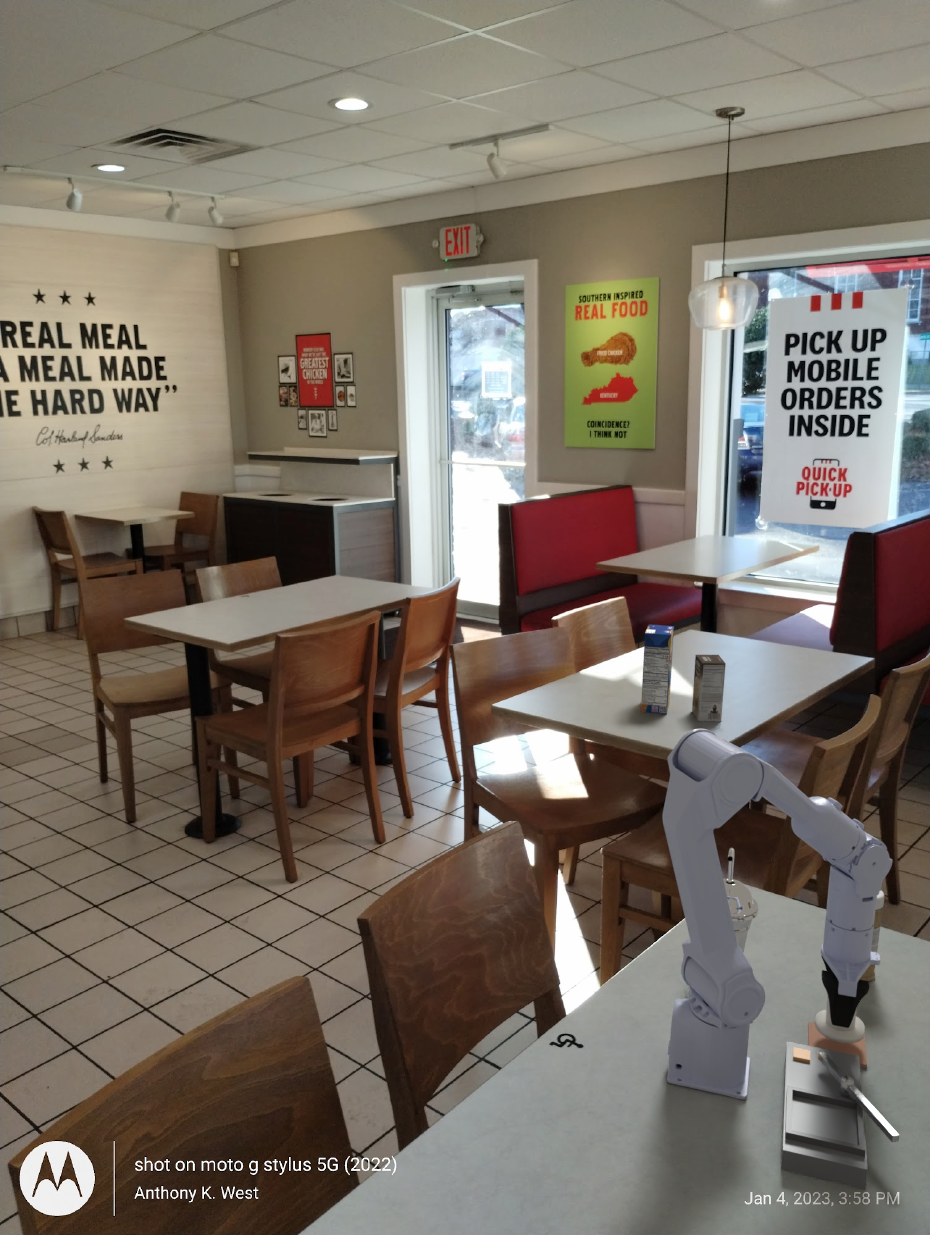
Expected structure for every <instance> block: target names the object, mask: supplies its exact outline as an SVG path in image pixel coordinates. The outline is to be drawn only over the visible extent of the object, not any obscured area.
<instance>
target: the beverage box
mask: <svg viewBox="0 0 930 1235" xmlns="http://www.w3.org/2000/svg"><path fill="white" fill-rule="evenodd" d="M674 632H675V626H674V625H673V626H672V625H662V624H661V625H660V624H648V625H647V628H646V630H645V632H644V645H643V646H644V648H643V666H642V667H643V668H642V681H641V683H642V685H641V703H640V713H646V714H647V713H648V714H656V715H657V714H658V715H666V716H667V714H668V711H669V708H670V707H669V706H670V701H671V700H670V699H671V683H672V682H671V681H672V669H673V668H672V666H673V649H674V634H675V633H674Z"/></svg>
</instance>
